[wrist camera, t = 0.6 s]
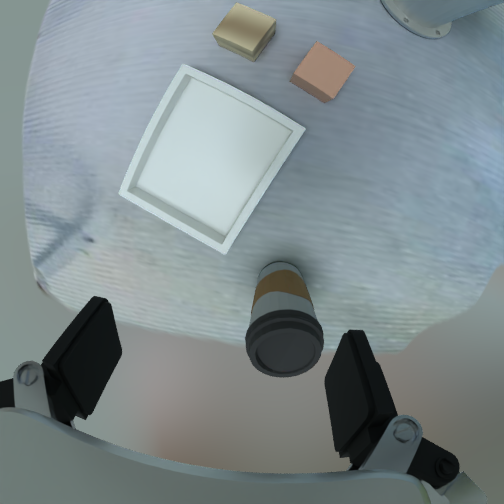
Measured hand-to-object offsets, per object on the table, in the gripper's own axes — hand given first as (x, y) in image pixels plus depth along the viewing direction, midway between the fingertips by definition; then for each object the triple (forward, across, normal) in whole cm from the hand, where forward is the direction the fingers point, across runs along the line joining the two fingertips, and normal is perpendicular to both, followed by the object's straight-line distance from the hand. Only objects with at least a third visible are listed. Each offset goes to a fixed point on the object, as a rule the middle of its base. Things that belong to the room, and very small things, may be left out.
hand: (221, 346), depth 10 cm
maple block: (+27, +3, -20) cm, 34 cm away
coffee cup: (+27, -5, +12) cm, 30 cm away
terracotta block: (+27, -6, -16) cm, 32 cm away
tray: (+27, +6, -4) cm, 28 cm away
